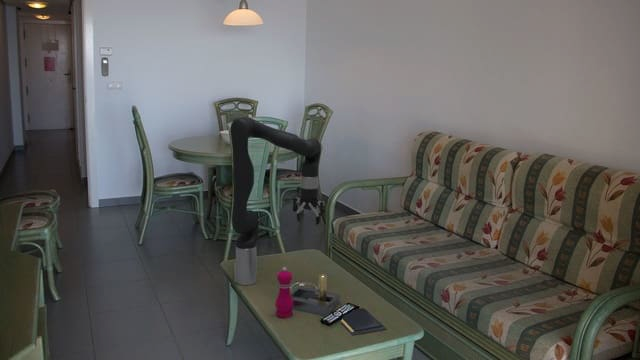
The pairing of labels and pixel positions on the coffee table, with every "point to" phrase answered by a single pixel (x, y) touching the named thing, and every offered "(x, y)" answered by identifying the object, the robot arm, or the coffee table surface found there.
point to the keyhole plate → (314, 301)
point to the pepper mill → (284, 294)
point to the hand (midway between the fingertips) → (308, 222)
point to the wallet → (361, 322)
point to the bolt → (322, 287)
